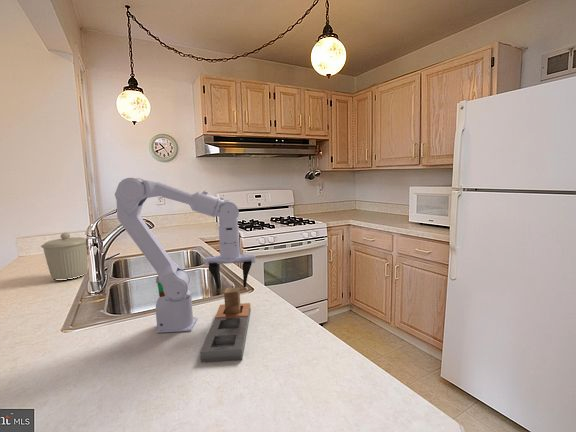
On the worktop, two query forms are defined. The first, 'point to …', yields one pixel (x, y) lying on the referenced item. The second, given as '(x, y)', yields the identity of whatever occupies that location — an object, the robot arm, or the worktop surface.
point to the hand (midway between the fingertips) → (232, 287)
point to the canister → (66, 256)
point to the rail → (226, 335)
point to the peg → (232, 300)
